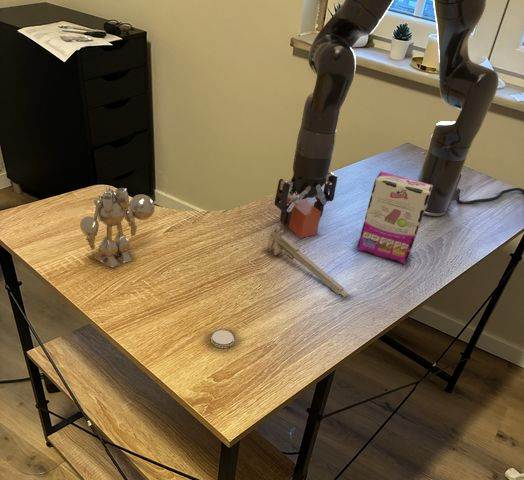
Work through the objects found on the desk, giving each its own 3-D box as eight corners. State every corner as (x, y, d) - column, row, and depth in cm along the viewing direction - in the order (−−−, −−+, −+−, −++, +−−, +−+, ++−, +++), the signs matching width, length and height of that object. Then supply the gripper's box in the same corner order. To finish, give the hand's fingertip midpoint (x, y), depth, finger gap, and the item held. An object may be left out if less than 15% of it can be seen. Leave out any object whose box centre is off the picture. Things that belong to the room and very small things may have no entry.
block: (298, 219, 122) (302, 197, 118) (316, 234, 118) (321, 211, 114) (283, 223, 120) (286, 200, 116) (300, 238, 116) (304, 215, 112)
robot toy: (144, 237, 109) (142, 167, 99) (162, 251, 106) (161, 180, 96) (79, 259, 101) (69, 185, 90) (96, 275, 98) (88, 200, 88)
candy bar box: (409, 254, 117) (434, 184, 106) (405, 265, 113) (431, 193, 102) (361, 239, 119) (380, 169, 108) (355, 249, 115) (375, 178, 104)
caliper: (266, 251, 111) (270, 224, 106) (270, 249, 111) (274, 223, 107) (344, 298, 101) (351, 271, 97) (347, 296, 102) (355, 269, 98)
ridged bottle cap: (205, 338, 88) (205, 335, 88) (223, 329, 90) (224, 326, 90) (221, 351, 86) (221, 348, 86) (239, 341, 89) (239, 338, 88)
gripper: (296, 161, 101) (283, 235, 112) (352, 153, 108) (335, 224, 119) (275, 146, 106) (264, 219, 117) (330, 139, 112) (316, 209, 123)
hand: (300, 221), depth 118 cm, fingers open, 8 cm apart
